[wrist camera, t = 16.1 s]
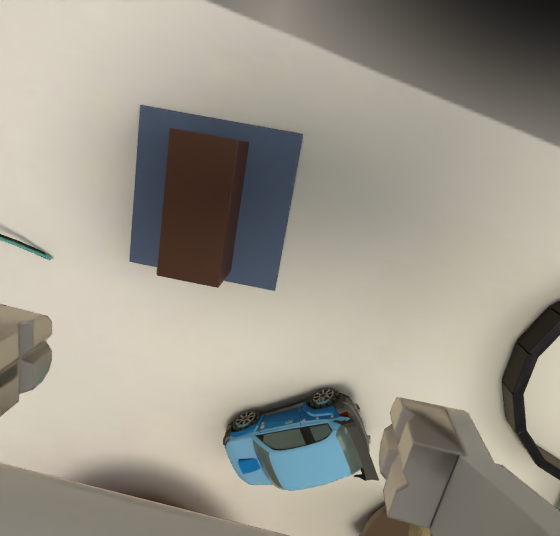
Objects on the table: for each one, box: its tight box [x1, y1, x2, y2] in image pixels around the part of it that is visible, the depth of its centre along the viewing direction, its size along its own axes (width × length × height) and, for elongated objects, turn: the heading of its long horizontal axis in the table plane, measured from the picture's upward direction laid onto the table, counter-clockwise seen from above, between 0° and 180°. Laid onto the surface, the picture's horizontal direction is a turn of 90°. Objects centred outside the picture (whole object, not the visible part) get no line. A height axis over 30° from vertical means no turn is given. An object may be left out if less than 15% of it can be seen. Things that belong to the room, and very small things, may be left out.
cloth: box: [130, 105, 303, 291], centre depth 31 cm, size 12×12×1 cm
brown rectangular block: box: [157, 128, 249, 288], centre depth 29 cm, size 10×4×4 cm, turn 170°
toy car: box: [223, 388, 379, 491], centre depth 33 cm, size 6×12×6 cm, turn 111°
